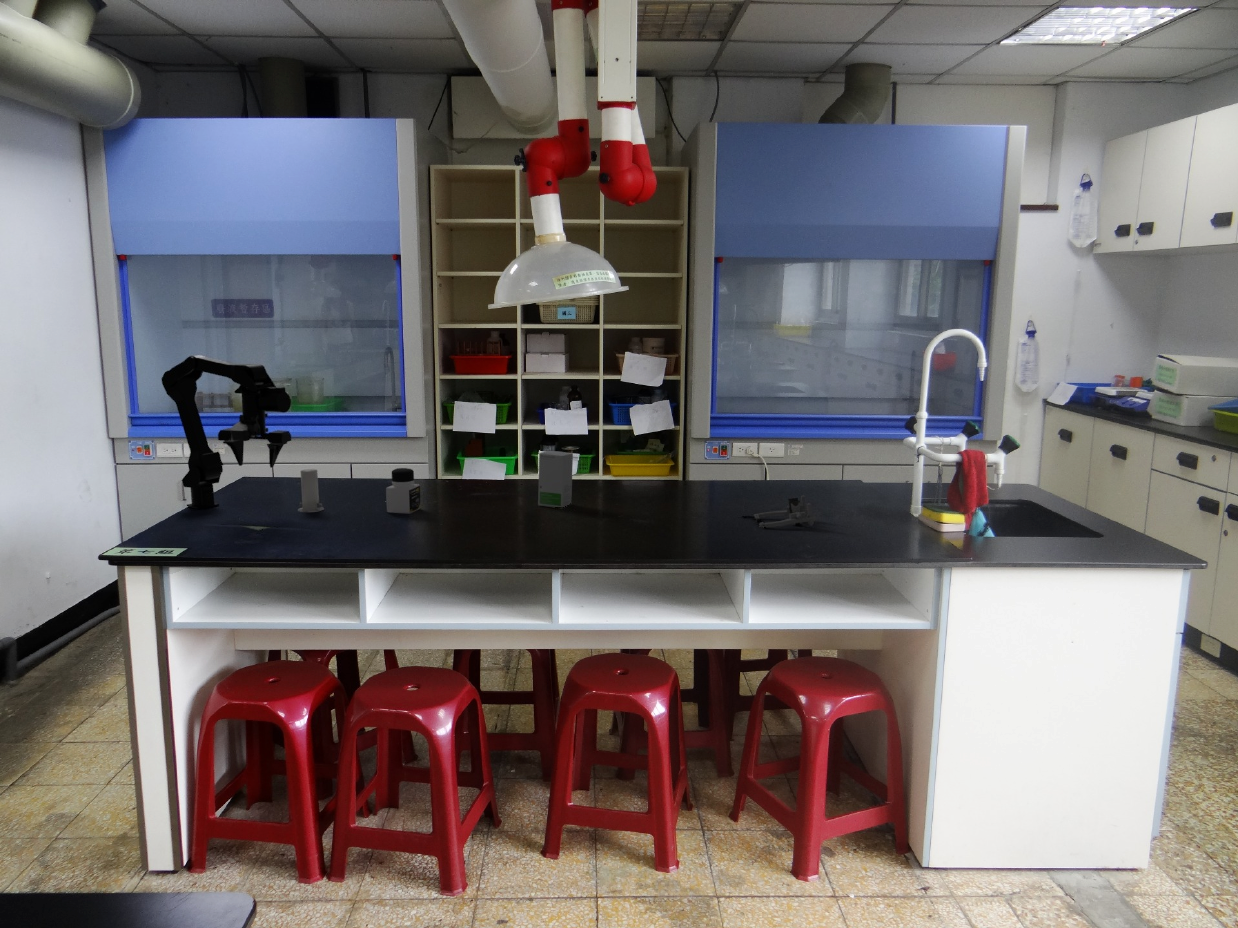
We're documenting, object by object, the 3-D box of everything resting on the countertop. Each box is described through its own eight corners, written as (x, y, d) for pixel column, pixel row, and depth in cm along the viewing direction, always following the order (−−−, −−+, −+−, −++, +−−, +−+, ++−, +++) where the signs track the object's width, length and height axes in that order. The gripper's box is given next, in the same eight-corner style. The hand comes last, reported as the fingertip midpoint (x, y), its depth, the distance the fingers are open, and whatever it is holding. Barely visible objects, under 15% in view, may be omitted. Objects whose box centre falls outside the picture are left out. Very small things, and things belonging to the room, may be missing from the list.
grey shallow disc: (292, 513, 242) (292, 511, 242) (305, 508, 249) (305, 506, 249) (316, 514, 241) (316, 512, 241) (328, 509, 248) (328, 507, 248)
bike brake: (809, 515, 242) (737, 525, 243) (806, 492, 241) (734, 501, 242) (818, 528, 228) (742, 538, 230) (815, 503, 227) (738, 513, 228)
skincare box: (537, 506, 254) (537, 453, 252) (547, 501, 260) (547, 450, 258) (563, 508, 251) (563, 455, 248) (573, 504, 257) (573, 451, 254)
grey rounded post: (296, 510, 243) (294, 471, 241) (304, 507, 247) (302, 468, 246) (317, 511, 242) (315, 472, 240) (325, 508, 246) (323, 469, 245)
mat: (230, 523, 230) (230, 522, 230) (271, 515, 240) (271, 514, 240) (258, 530, 223) (258, 529, 223) (298, 521, 233) (298, 520, 233)
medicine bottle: (410, 514, 243) (408, 471, 241) (386, 512, 244) (384, 470, 242) (421, 508, 250) (419, 467, 248) (397, 507, 251) (396, 466, 249)
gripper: (204, 412, 233) (207, 469, 235) (269, 415, 230) (272, 473, 233) (228, 407, 243) (231, 462, 246) (291, 410, 241) (293, 466, 244)
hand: (256, 466), depth 242 cm, fingers open, 9 cm apart
